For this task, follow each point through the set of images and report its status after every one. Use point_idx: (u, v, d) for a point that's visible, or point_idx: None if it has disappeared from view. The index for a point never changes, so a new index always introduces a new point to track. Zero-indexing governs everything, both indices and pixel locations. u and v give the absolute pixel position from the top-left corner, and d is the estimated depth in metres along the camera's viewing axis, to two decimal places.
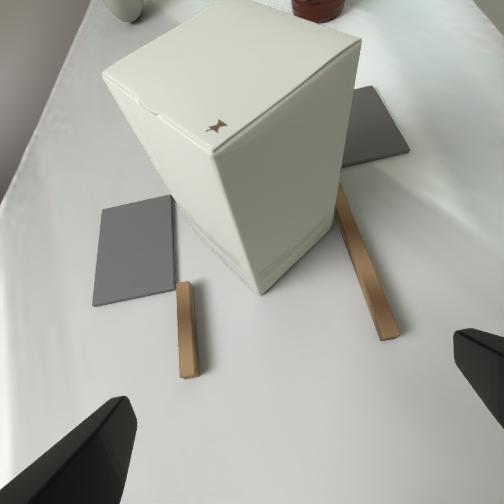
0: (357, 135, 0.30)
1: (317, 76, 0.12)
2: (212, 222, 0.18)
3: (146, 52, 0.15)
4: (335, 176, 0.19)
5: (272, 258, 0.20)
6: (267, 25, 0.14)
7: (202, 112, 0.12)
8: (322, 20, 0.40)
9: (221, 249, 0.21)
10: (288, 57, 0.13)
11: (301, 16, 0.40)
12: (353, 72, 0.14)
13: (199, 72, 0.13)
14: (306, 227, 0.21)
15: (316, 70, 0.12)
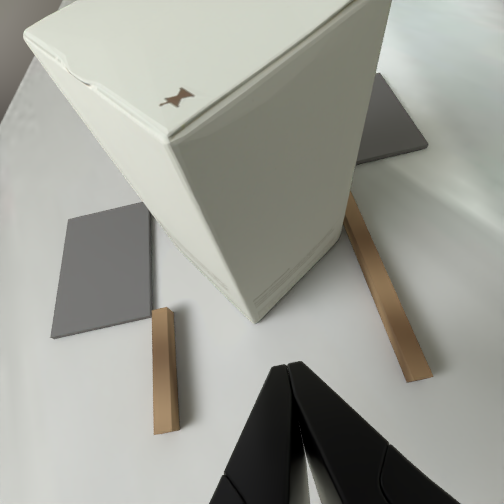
0: (365, 129, 0.25)
1: (333, 24, 0.08)
2: (189, 239, 0.13)
3: (86, 4, 0.10)
4: (348, 176, 0.15)
5: (269, 281, 0.16)
6: None
7: (156, 78, 0.07)
8: None
9: (205, 269, 0.17)
10: None
11: None
12: (382, 26, 0.10)
13: (156, 24, 0.09)
14: (310, 241, 0.17)
15: (333, 13, 0.08)
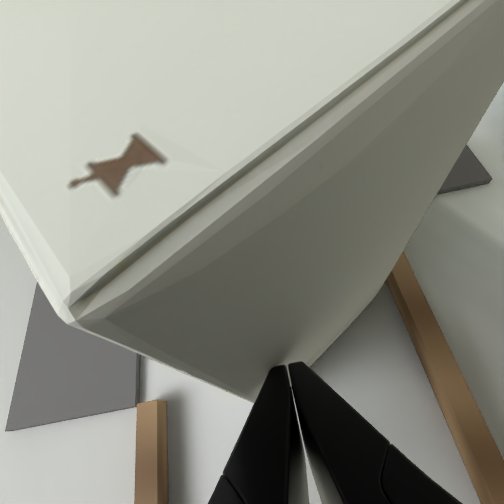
0: None
1: None
2: None
3: None
4: (412, 233, 0.11)
5: None
6: None
7: (80, 105, 0.03)
8: None
9: None
10: None
11: None
12: None
13: None
14: (351, 314, 0.12)
15: None
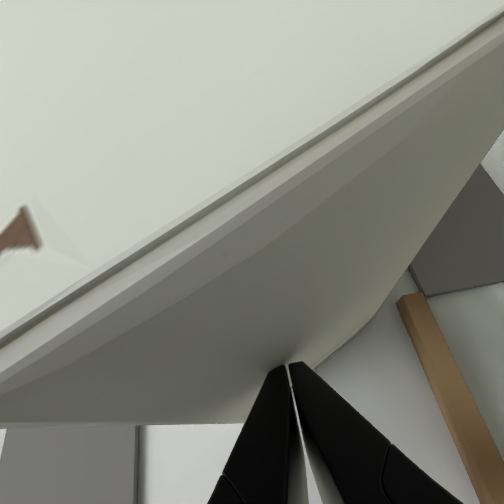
0: (455, 233, 0.17)
1: (471, 54, 0.03)
2: None
3: None
4: (404, 268, 0.10)
5: None
6: None
7: None
8: None
9: None
10: None
11: None
12: None
13: (67, 19, 0.04)
14: (334, 342, 0.12)
15: (476, 28, 0.03)
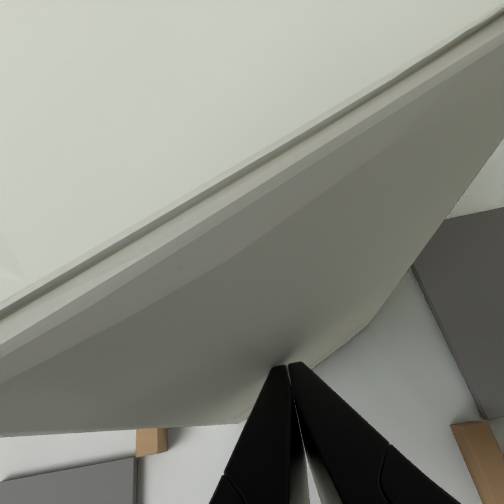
0: None
1: (456, 62, 0.03)
2: None
3: None
4: (400, 275, 0.10)
5: None
6: None
7: None
8: None
9: None
10: None
11: None
12: None
13: (44, 13, 0.04)
14: (327, 348, 0.11)
15: (463, 32, 0.03)
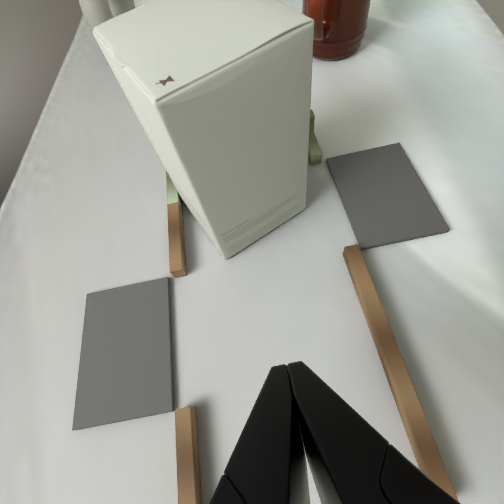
0: (386, 207, 0.25)
1: (264, 48, 0.14)
2: (179, 178, 0.20)
3: (133, 15, 0.16)
4: (301, 154, 0.21)
5: (234, 223, 0.22)
6: (239, 0, 0.16)
7: (158, 68, 0.14)
8: (337, 58, 0.36)
9: (193, 209, 0.23)
10: (244, 29, 0.14)
11: (314, 53, 0.36)
12: (308, 51, 0.15)
13: (167, 35, 0.15)
14: (271, 200, 0.22)
15: (263, 43, 0.14)
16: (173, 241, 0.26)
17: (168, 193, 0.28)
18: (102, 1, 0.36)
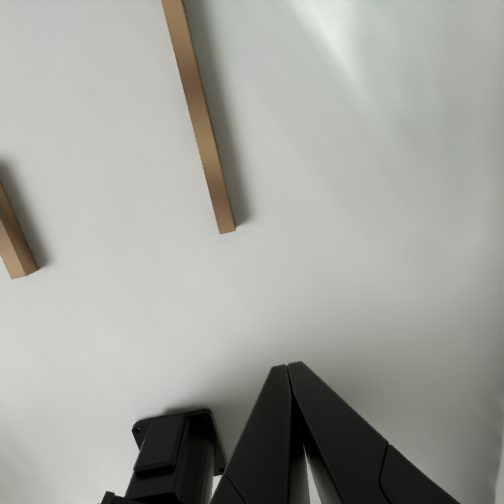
0: None
1: None
2: None
3: None
4: None
5: None
6: None
7: None
8: None
9: None
10: None
11: None
12: None
13: None
14: None
15: None
16: None
17: None
18: None
